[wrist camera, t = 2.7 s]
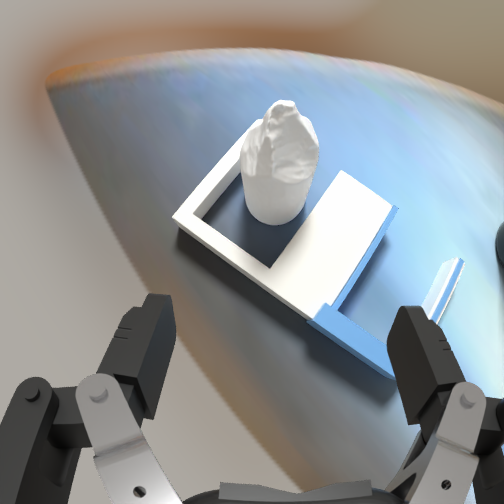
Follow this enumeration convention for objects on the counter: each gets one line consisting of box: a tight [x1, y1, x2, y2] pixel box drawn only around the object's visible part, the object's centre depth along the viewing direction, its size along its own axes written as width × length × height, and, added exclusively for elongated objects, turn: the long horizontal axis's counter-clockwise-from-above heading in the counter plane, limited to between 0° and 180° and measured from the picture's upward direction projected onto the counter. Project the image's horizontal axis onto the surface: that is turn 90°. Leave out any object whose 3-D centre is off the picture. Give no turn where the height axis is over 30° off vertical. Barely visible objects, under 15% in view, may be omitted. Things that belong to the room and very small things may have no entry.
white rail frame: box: [172, 120, 465, 380], centre depth 26 cm, size 12×23×4 cm, turn 54°
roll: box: [239, 100, 319, 225], centre depth 23 cm, size 6×12×6 cm
